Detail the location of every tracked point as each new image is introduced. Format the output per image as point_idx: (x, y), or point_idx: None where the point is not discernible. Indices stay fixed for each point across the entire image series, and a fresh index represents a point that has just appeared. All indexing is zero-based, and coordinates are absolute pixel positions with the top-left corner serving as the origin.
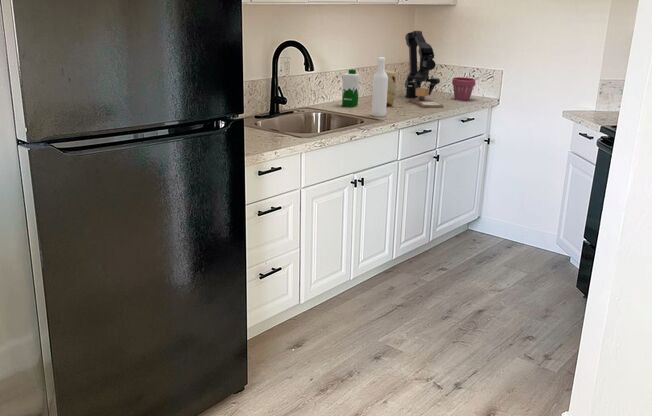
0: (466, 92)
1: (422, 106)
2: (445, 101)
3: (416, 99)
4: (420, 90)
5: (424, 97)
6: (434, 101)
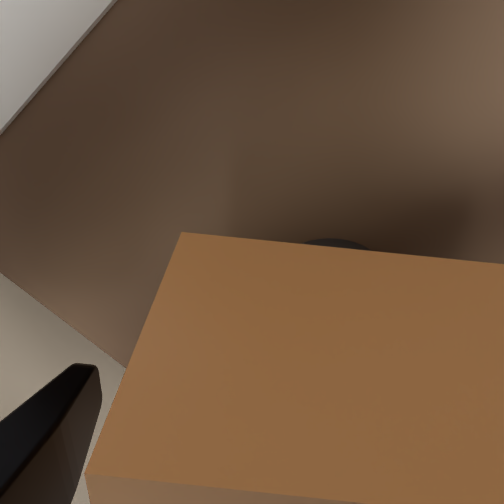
0: None
1: None
2: None
3: None
4: (434, 429)
5: None
6: (7, 272)
